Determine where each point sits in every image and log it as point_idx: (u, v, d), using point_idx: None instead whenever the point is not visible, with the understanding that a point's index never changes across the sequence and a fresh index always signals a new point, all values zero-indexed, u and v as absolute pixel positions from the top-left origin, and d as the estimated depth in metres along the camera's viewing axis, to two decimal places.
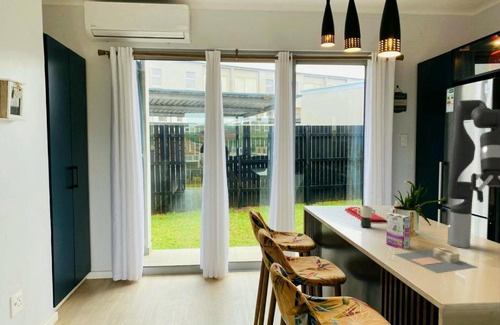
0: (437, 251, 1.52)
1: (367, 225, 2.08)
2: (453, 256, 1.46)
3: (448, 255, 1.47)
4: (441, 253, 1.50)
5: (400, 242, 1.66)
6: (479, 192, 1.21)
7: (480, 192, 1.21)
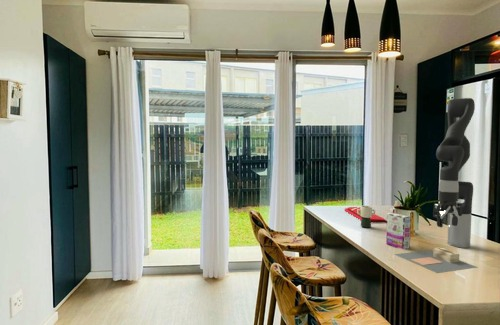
0: (437, 251, 1.52)
1: (367, 225, 2.08)
2: (453, 256, 1.46)
3: (448, 255, 1.47)
4: (441, 253, 1.50)
5: (400, 242, 1.66)
6: (440, 220, 1.47)
7: (441, 220, 1.47)
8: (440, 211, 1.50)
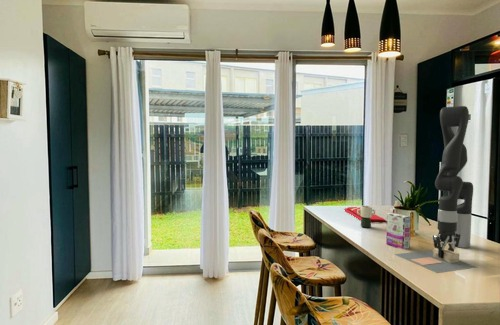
0: (437, 251, 1.52)
1: (367, 225, 2.08)
2: (453, 256, 1.46)
3: (448, 255, 1.47)
4: None
5: (400, 242, 1.66)
6: (441, 251, 1.49)
7: (442, 251, 1.49)
8: (440, 241, 1.51)
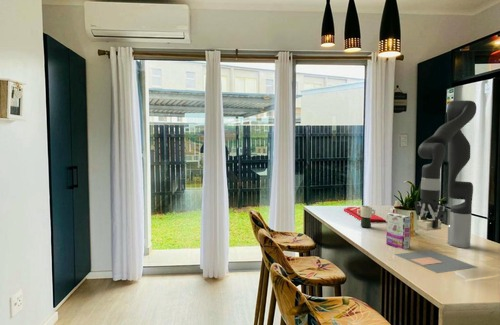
0: None
1: (367, 225, 2.08)
2: (420, 223, 1.46)
3: None
4: None
5: (400, 242, 1.66)
6: (421, 218, 1.50)
7: (421, 218, 1.49)
8: None
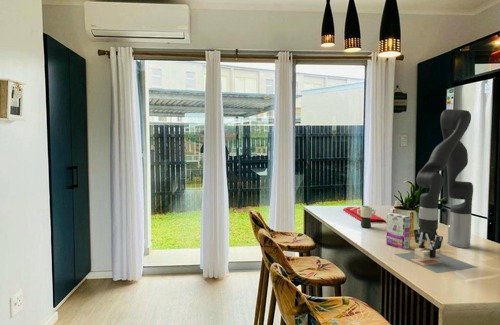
0: None
1: (367, 225, 2.08)
2: (417, 251, 1.46)
3: None
4: None
5: (400, 242, 1.66)
6: (419, 246, 1.50)
7: (420, 246, 1.50)
8: None
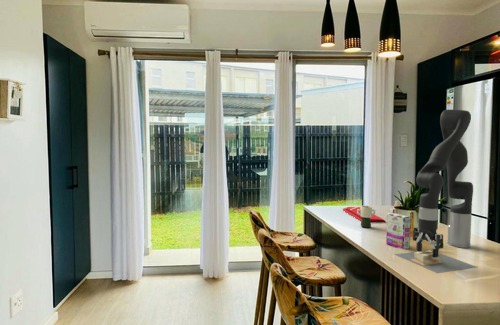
0: None
1: (367, 225, 2.08)
2: (417, 255, 1.46)
3: None
4: None
5: (400, 242, 1.66)
6: (417, 243, 1.51)
7: (417, 244, 1.51)
8: None
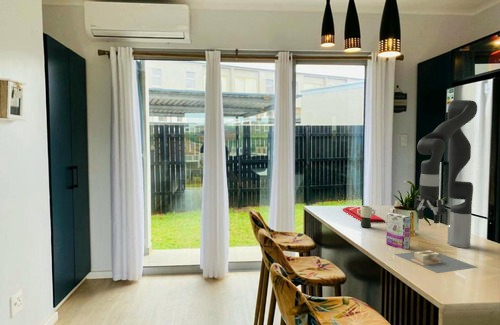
0: None
1: (367, 225, 2.08)
2: (417, 255, 1.46)
3: None
4: None
5: (400, 242, 1.66)
6: (418, 211, 1.51)
7: (418, 211, 1.51)
8: None
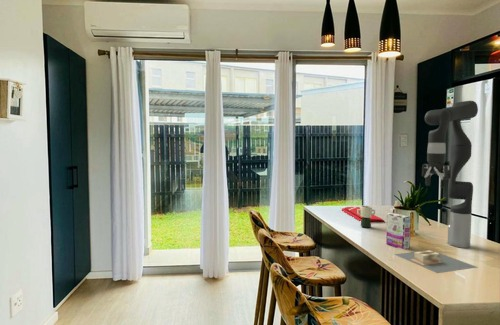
0: None
1: (367, 225, 2.08)
2: (417, 255, 1.46)
3: None
4: None
5: (400, 242, 1.66)
6: (425, 178, 1.62)
7: (426, 179, 1.62)
8: None
